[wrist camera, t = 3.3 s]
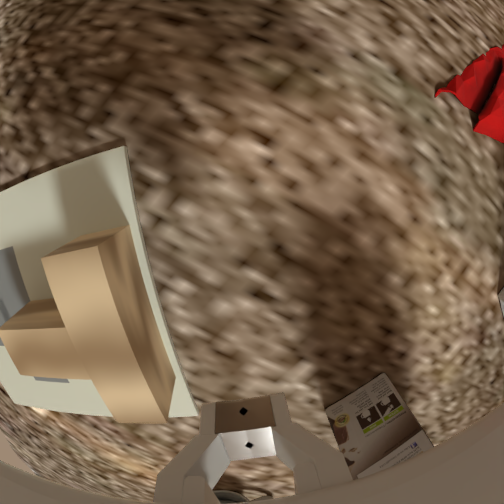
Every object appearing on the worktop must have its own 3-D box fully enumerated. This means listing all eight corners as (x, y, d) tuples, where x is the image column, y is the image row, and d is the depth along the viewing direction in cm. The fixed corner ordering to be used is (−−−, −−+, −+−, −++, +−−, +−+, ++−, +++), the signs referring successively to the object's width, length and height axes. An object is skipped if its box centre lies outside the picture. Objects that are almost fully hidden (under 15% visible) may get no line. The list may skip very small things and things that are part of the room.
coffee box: (321, 409, 21) (379, 571, 6) (384, 369, 21) (480, 516, 5) (356, 443, 24) (405, 559, 9) (407, 411, 23) (474, 520, 8)
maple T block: (14, 252, 15) (-25, 274, 11) (129, 224, 15) (97, 245, 11) (67, 378, 18) (46, 414, 14) (175, 376, 18) (167, 423, 14)
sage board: (-57, 225, 14) (-60, 226, 13) (126, 146, 14) (123, 145, 14) (16, 400, 19) (14, 403, 19) (198, 411, 20) (198, 415, 20)
